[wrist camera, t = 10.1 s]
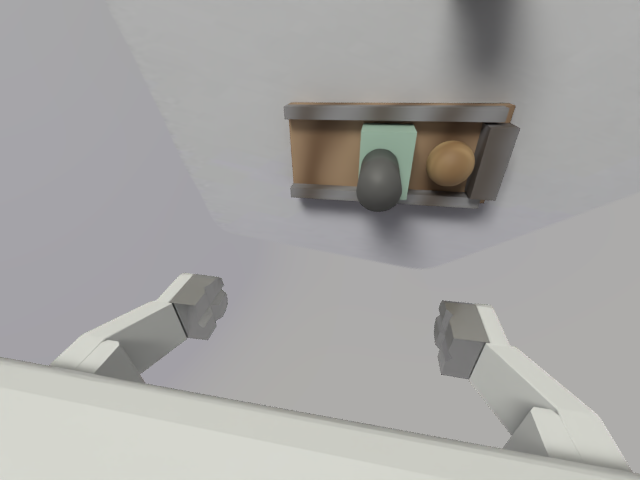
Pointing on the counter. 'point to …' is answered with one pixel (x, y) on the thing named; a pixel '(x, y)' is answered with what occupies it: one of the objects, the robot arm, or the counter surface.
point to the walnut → (450, 163)
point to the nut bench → (432, 129)
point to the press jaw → (385, 164)
